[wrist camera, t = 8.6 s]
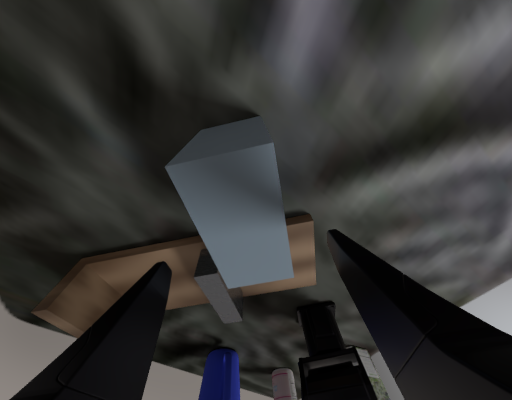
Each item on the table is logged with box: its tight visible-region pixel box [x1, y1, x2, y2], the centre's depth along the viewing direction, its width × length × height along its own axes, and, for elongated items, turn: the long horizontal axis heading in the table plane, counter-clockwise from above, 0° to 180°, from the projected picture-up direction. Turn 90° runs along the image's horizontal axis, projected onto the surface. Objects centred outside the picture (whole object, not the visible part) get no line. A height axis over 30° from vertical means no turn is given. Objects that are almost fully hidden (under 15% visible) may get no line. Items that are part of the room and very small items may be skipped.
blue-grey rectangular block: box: [165, 116, 294, 289], centre depth 14 cm, size 10×5×8 cm, turn 12°
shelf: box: [31, 214, 316, 338], centre depth 22 cm, size 12×28×6 cm, turn 102°
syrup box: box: [346, 346, 390, 400], centre depth 38 cm, size 6×6×14 cm
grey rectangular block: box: [194, 249, 243, 324], centre depth 22 cm, size 10×2×4 cm, turn 12°
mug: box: [198, 349, 240, 400], centre depth 35 cm, size 8×12×10 cm
